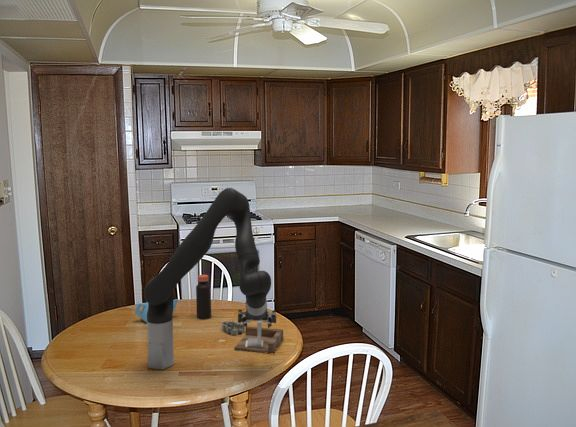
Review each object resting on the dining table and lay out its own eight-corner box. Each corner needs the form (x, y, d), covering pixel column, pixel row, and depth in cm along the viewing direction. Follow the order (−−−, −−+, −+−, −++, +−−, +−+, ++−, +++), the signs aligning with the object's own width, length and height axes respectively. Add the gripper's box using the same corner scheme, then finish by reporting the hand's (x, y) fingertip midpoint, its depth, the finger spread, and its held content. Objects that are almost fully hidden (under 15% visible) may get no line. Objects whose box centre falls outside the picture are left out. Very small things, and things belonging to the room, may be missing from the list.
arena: (273, 353, 203) (273, 344, 203) (234, 349, 207) (234, 340, 207) (283, 338, 219) (283, 329, 218) (247, 335, 223) (246, 326, 222)
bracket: (247, 346, 207) (247, 322, 206) (248, 341, 212) (247, 318, 211) (261, 346, 208) (261, 322, 206) (261, 341, 212) (261, 318, 211)
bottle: (210, 314, 250) (209, 273, 247) (212, 318, 243) (211, 277, 240) (195, 315, 248) (194, 274, 245) (197, 320, 241) (196, 278, 238)
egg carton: (247, 333, 226) (247, 324, 225) (232, 337, 221) (232, 327, 221) (234, 326, 234) (234, 317, 234) (219, 329, 230) (219, 320, 229)
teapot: (152, 312, 252) (151, 291, 251) (179, 315, 247) (178, 294, 246) (133, 322, 238) (132, 300, 236) (161, 326, 233) (160, 303, 231)
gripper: (276, 296, 187) (276, 316, 200) (237, 295, 187) (239, 315, 200) (276, 315, 183) (276, 334, 195) (235, 315, 182) (238, 334, 195)
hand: (257, 325), depth 198 cm, fingers open, 8 cm apart
